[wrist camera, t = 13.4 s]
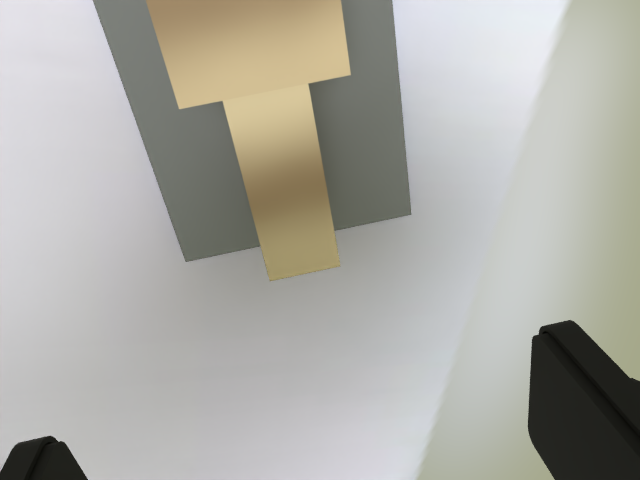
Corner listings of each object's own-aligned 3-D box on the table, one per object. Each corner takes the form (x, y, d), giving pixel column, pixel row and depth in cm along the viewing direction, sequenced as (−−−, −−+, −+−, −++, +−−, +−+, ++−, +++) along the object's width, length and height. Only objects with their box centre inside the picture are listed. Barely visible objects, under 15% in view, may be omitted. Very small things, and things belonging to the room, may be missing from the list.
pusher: (351, 205, 27) (375, 258, 22) (237, 228, 27) (234, 288, 22) (301, -125, 20) (318, -165, 15) (145, -96, 20) (107, -126, 14)
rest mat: (408, 210, 28) (411, 214, 28) (187, 256, 28) (185, 261, 27) (365, -255, 19) (368, -261, 18) (29, -193, 18) (22, -198, 18)
